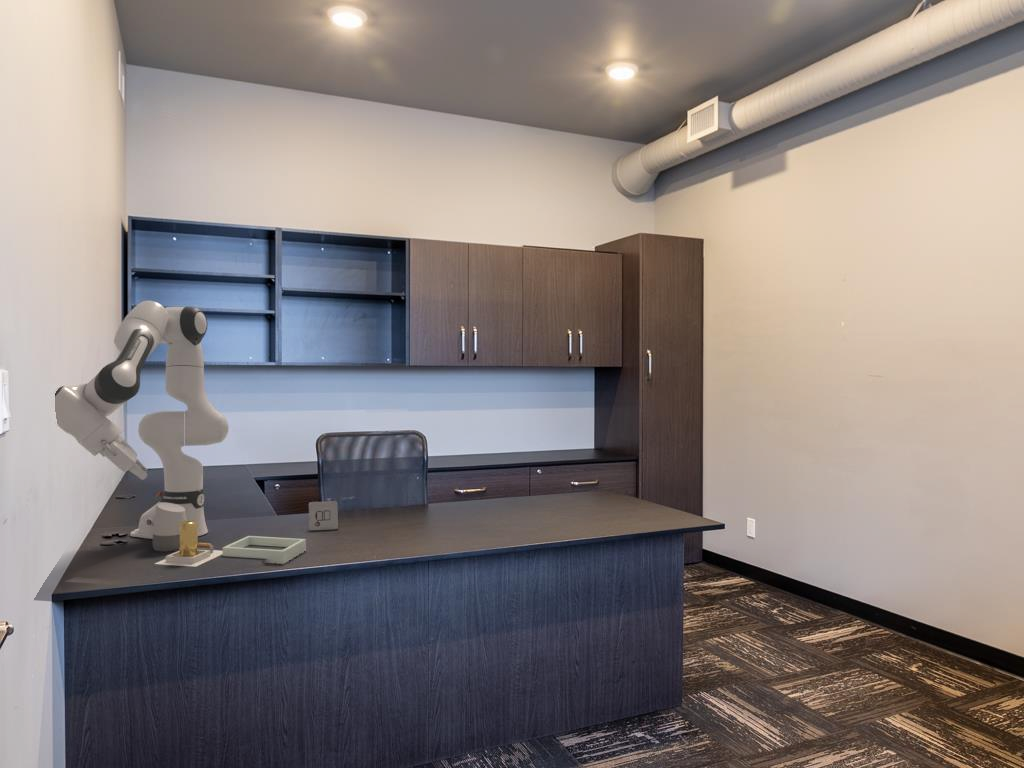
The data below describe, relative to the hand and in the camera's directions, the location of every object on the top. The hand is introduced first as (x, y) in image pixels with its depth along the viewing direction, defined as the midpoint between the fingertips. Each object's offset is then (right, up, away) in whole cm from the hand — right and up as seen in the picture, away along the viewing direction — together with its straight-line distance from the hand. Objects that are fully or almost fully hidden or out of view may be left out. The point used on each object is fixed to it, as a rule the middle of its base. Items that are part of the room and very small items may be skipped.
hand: (145, 475), depth 187 cm
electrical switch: (+33, -24, +49) cm, 64 cm away
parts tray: (+26, -25, +15) cm, 39 cm away
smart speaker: (-2, -24, +17) cm, 30 cm away
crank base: (+9, -25, +7) cm, 27 cm away
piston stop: (+9, -23, +5) cm, 26 cm away
